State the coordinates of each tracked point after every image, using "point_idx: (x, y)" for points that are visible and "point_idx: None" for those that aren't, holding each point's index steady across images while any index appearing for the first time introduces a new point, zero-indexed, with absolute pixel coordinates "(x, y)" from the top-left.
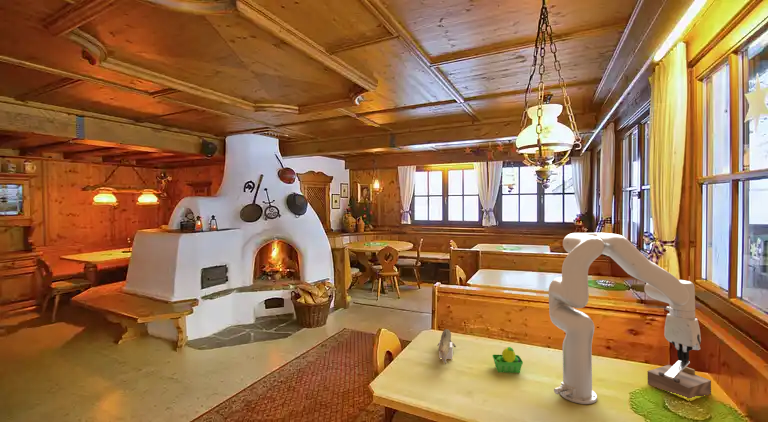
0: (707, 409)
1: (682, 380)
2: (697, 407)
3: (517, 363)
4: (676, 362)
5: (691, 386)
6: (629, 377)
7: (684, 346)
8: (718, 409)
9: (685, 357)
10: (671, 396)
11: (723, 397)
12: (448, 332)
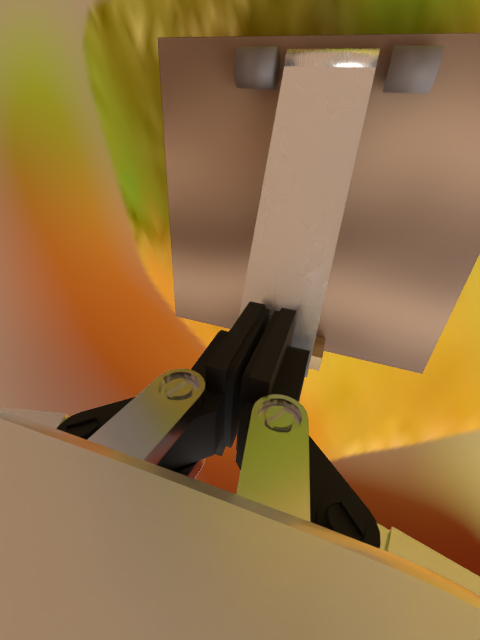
0: (127, 72)
1: (250, 154)
2: (155, 34)
3: None
4: (321, 301)
5: (167, 96)
6: None
7: (138, 439)
8: (115, 136)
9: (220, 341)
10: (301, 19)
11: (173, 291)
12: None
